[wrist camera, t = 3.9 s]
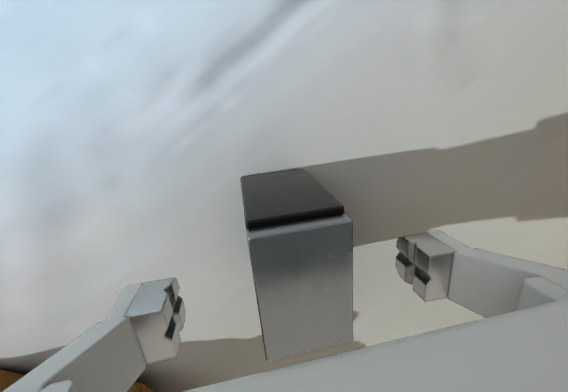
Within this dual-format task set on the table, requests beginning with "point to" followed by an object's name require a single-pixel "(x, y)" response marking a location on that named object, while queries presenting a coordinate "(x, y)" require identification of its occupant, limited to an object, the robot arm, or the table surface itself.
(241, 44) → the table surface
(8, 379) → the stuffed squirrel
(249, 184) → the black block
